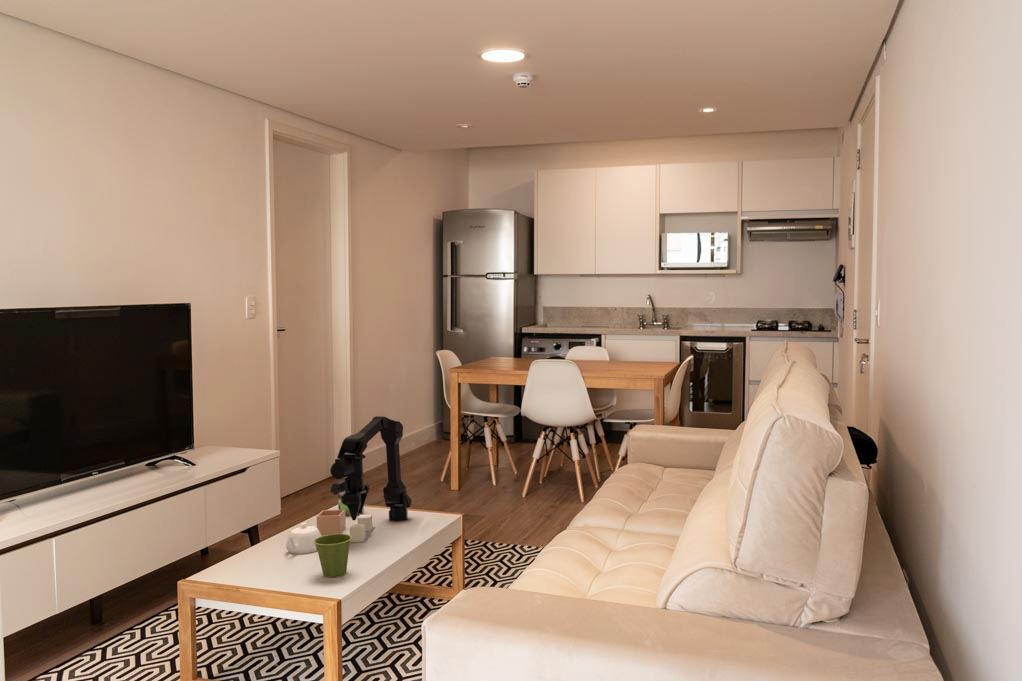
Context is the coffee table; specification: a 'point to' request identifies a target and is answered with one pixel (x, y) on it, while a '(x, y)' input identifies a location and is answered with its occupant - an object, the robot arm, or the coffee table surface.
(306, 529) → the teapot
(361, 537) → the block
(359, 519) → the block
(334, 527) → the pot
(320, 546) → the plant pot
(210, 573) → the coffee table surface
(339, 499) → the coffee can
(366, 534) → the slate board
